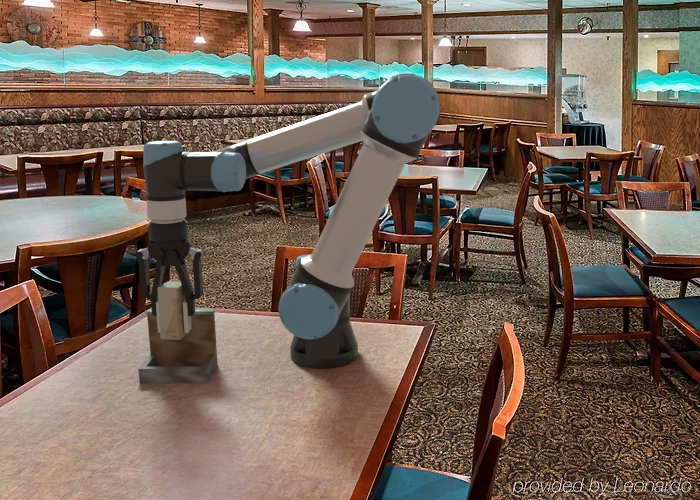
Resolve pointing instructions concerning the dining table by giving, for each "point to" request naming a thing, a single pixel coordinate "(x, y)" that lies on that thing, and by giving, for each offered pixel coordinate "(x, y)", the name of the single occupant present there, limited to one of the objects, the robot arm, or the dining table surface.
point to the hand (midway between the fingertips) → (174, 330)
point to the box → (171, 310)
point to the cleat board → (182, 352)
